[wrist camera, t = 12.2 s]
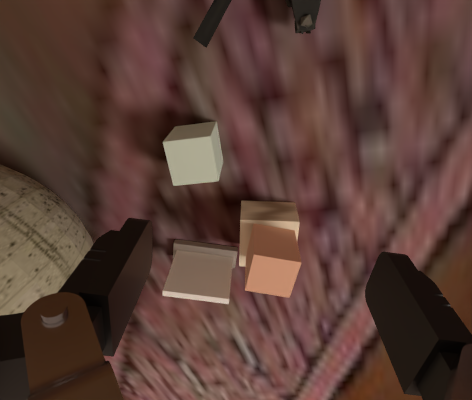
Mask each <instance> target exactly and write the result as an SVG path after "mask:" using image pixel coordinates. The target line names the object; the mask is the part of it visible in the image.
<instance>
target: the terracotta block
mask: <svg viewBox="0 0 472 400" xmlns="http://www.w3.org/2000/svg"><path fill="white" fill-rule="evenodd" d="M300 265H301V258H300V253H299V249H298V244H297V239H296V235H295V230H289V229H283V228H277V227H271V226H266V225H260V224H253V228H252V232H251V237H250V241H249V245H248V249H247V254H246V270H245V291H252V292H258V293H264V294H270V295H276V296H283V297H290V294H291V292H292V289H293V286H294V283H295V280H296V277H297V274H298V271H299V268H300Z"/></svg>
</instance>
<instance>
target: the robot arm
mask: <svg viewBox="0 0 472 400" xmlns="http://www.w3.org/2000/svg"><path fill="white" fill-rule="evenodd" d="M151 263H152V222H151V221H150V220H142V219H134V218H128V219H127V221H126V222H125V224H124V225H123V227H122V228H121V230H120V231H113V230H110V231H109V232H107V233H106V234H104V235H102V236H101V237H99V238H98V239H97V240H96V242H95V243H94V244H93V246H92V247H91V248H90V251H88V252H87V254H86V255H85V256H84V259H82V260H81V262H80V263H79V264H78V266H77V267H76V268H75V270H74V271H73V273H72V274H71V275H70V277H69V278H68V279H67V281H66V282H65V283H64V285H63V286H62V287H61V289H60V290H59V291H58V293H54V294H50V295H47V296H44V297H42V298H40V299H38V300H37V301H35V302H34V303H32V304H31V305H30V306H29V307H28V308H27V309H26V310H25V312H22V313H17V314H9V315H1V316H0V400H124V399H123V396H122V394H121V391H120V388H119V385H118V383H117V380H116V377H115V374H114V372H113V369H112V366H111V364H110V362H109V361H105V358H104V356H103V355H105V356H114V354H115V352H116V349H117V347H118V345H119V342H120V340H121V338H122V335H123V333H124V331H125V328H126V326H127V324H128V321H129V319H130V317H131V314H132V312H133V310H134V307H135V305H136V303H137V300H138V298H139V296H140V293H141V291H142V289H143V286H144V284H145V282H146V279H147V277H148V275H149V272H150V268H151ZM365 298H366V302H367V305H368V307H369V310H370V312H371V315H372V317H373V319H374V322H375V324H376V327H377V329H378V332H379V334H380V336H381V339H382V341H383V344H384V346H385V348H386V351H387V353H388V356H389V358H390V360H391V363H392V365H393V368H394V370H395V373H396V375H397V377H398V380H399V382H400V385H401V387H402V389H403V392H404V394H410V395H418V396H422V398H423V400H472V334H471V333H470V332H469V330H468V329H467V327H466V326H465V325H464V323H463V322H462V321H461V319H460V318H459V316H458V315H457V314H456V312H455V311H454V309H453V308H451V307H450V304H449V302H448V301H447V300H446V298H445V297H443V294H442V293H441V291H440V290H439V288H438V287H437V286H436V284H435V283H434V282H433V281H432V280H431V279H430V278H428V277H427V276H426V275H425V274H424V273H422V272H421V271H418V270H417V269H416V267H415V266H414V264H413V263H412V261H411V260H410V258H409V257H408V256H407V255H405V254H397V253H390V252H382V253H381V254H380V255H379V257H378V259H377V261H376V264H375V266H374V268H373V271H372V273H371V275H370V278H369V280H368V282H367V285H366V290H365Z"/></svg>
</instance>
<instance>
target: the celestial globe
mask: <svg viewBox="0 0 472 400" xmlns="http://www.w3.org/2000/svg"><path fill="white" fill-rule="evenodd" d="M92 246H93V241H92V239H91V237H90V235H89V233H88V232H87V230H86V229H85V227H84V226H83V224H82V222H81V221H80V219H79V218H78V216H77V215H76V214H75V213H74V212H73V211H72V209H71V208H70V207H69V206H68V205H67V204H66V203H65V202H64V201H63V200H62V199H61V198H60V197H58V196H57V195H56V194H55V193H53V192H52V191H51V190H50V189H48V188H46V187H45V186H43V185H42V184H40V183H38V182H37V181H35V180H33V179H32V178H30V177H28V176H26V175H24V174H22V173H19V172H17V171H15V170H12V169H10V168H8V167H5V166H3V165H0V316H1V315H9V314H17V313H22V312H25V310H26V309H27V308H28V307H29V306H30V305H31V304H32V303H34V302H35V301H37V300H38V299H40V298H42V297H44V296H47V295H50V294H54V293H58V291H59V290H60V289H61V287H62V286H63V285H64V283H65V282H66V281H67V279H68V278H69V277H70V275H71V274H72V273H73V271H74V270H75V268H76V267H77V266H78V264H79V263H80V262H81V260H82V259H84V256H85V255H86V254H87V252H88V251H90V248H91V247H92Z"/></svg>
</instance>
